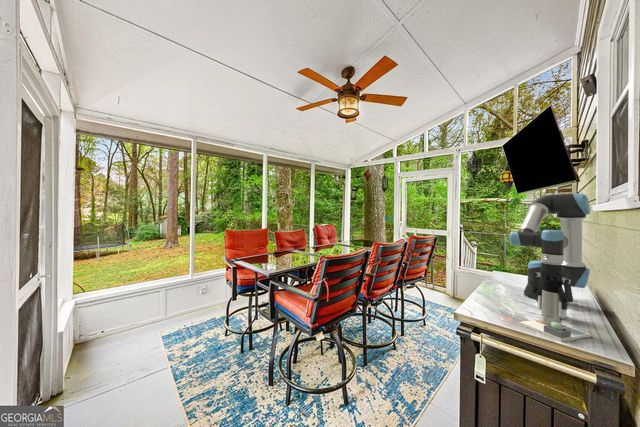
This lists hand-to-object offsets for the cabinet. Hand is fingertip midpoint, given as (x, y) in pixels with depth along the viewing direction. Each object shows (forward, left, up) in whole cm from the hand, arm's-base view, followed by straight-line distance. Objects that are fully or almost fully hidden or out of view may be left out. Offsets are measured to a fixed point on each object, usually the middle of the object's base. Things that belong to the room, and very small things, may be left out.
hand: (550, 312), depth 112 cm
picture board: (+4, +4, -6) cm, 8 cm away
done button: (+10, +8, -4) cm, 13 cm away
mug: (-15, -7, -6) cm, 18 cm away
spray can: (0, 0, -5) cm, 5 cm away
